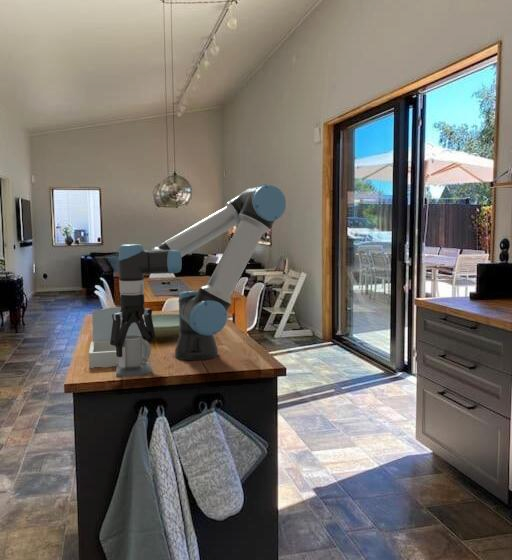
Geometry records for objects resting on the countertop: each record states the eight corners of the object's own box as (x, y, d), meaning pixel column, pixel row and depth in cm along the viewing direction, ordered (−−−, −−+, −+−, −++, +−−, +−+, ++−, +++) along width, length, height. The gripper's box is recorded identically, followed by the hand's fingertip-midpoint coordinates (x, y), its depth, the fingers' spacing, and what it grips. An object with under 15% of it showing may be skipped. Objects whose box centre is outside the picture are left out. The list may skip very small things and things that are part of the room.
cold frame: (145, 364, 187) (144, 318, 186) (89, 368, 183) (87, 320, 181) (142, 349, 210) (141, 307, 208) (92, 352, 205) (90, 309, 204)
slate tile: (152, 374, 176) (152, 371, 175) (116, 376, 173) (116, 373, 173) (150, 365, 186) (150, 362, 186) (116, 367, 184) (116, 364, 183)
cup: (120, 362, 182) (119, 335, 182) (151, 360, 184) (150, 334, 183) (118, 368, 175) (117, 339, 174) (151, 366, 177) (150, 338, 176)
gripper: (151, 289, 187) (153, 355, 190) (95, 295, 171) (98, 368, 174) (165, 291, 182) (167, 359, 185) (110, 298, 167) (112, 372, 169)
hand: (134, 363), depth 179 cm, fingers closed on cup, 8 cm apart
